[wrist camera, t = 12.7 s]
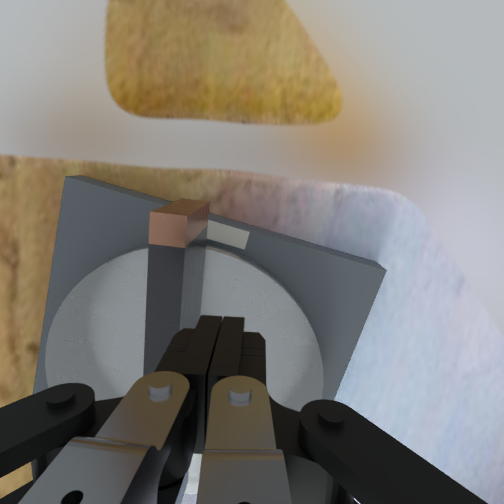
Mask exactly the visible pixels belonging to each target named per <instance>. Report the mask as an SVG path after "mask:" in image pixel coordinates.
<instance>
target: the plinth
mask: <svg viewBox="0 0 504 504" xmlns="http://www.w3.org/2000/svg"><path fill="white" fill-rule="evenodd" d="M170 203H173V202H170V201H167V200H163V199H160V198H156V197H153V196H150V195H146V194H143V193H139V192H136V191H133V190H129V189H126V188H122V187H119V186H116V185H112V184H109V183H105V182H102V181H99V180H95V179H92V178H88V177H85V176H82V175H79V176H65V181H64V188H63V194H62V201H61V208H60V215H59V221H58V228H57V235H56V242H55V248H54V255H53V262H52V268H51V275H50V282H49V289H48V295H47V302H46V309H45V315H44V322H43V329H42V336H41V342H40V349H39V356H38V363H37V369H36V376H35V383H34V389H33V394H35V393H38V392H40V391H43V390H45V389H47V388H48V384H47V378H46V369H45V353H46V345H47V339H48V334H49V331H50V328H51V325H52V322H53V319H54V317H55V315H56V313H57V311H58V309H59V308H60V306H61V304H62V302H63V301H64V300H65V298H66V297H67V296H68V294H69V293H70V292H71V290H72V289H73V288H74V287H75V286H76V285H77V284H78V283H79V282H80V281H81V280H82V279H83V278H84V277H86V276H87V275H88V274H90V273H91V272H93V271H94V270H95V269H97V268H98V267H100V266H101V265H103V264H105V263H106V262H108V261H109V260H111V259H113V258H115V257H117V256H119V255H121V254H123V253H125V252H127V251H130V250H133V249H136V248H139V247H141V246H146V245H149V220H150V211H153V210H155V209H158V208H160V207H163V206H165V205H168V204H170ZM206 244H210V245H215V246H219V247H222V248H225V249H228V250H231V251H234V252H237V253H239V254H241V255H243V256H245V257H247V258H249V259H252V260H253V261H255V262H256V263H258V264H259V265H261V266H263V267H264V268H266V269H267V270H269V271H270V272H271V273H272V274H273V275H275V276H276V277H277V278H278V279H279V280H281V281H282V282H283V283H284V285H285V286H286V287H287V288H288V289H289V290H290V291H291V292H292V293H293V294H294V296H295V297H296V299H297V300H298V301H299V303H300V304H301V306H302V307H303V309H304V310H305V312H306V314H307V316H308V318H309V320H310V322H311V324H312V327H313V330H314V333H315V336H316V339H317V342H318V346H319V349H320V354H321V359H322V364H323V381H324V385H323V393H322V399H327V400H334V398H335V395H336V393H337V391H338V388H339V386H340V383H341V381H342V378H343V376H344V373H345V371H346V368H347V366H348V364H349V361H350V359H351V356H352V354H353V351H354V349H355V346H356V344H357V342H358V339H359V337H360V334H361V332H362V329H363V327H364V324H365V322H366V320H367V317H368V315H369V312H370V310H371V307H372V305H373V302H374V300H375V298H376V295H377V293H378V290H379V288H380V285H381V283H382V280H383V278H384V276H385V273H386V271H387V270H385V269H384V268H383V267H382V266H381V265H380V264H378V263H377V262H374V261H371V260H367V259H364V258H361V257H357V256H354V255H350V254H347V253H344V252H340V251H337V250H333V249H330V248H327V247H323V246H320V245H316V244H313V243H310V242H306V241H303V240H299V239H296V238H292V237H289V236H286V235H282V234H279V233H275V232H272V231H269V230H265V229H262V228H258V227H255V226H252V225H248V224H245V223H241V222H238V221H235V220H231V219H228V218H224V217H221V216H218V215H214V214H211V213H209V217H208V229H207V241H206Z"/></svg>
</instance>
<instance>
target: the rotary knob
mask: <svg viewBox="0 0 504 504" xmlns="http://www.w3.org/2000/svg"><path fill="white" fill-rule="evenodd" d="M209 205H210V202H208V201H200V200H191V199H180V200H178V201H175V202H173V203H170V204H168V205H165V206H163V207H160V208H158V209H155V210H153V211H150V220H149V245H146V246H141V247H139V248H136V249H133V250H130V251H127V252H125V253H123V254H121V255H119V256H117V257H115V258H113V259H111V260H109V261H108V262H106V263H105V264H103V265H101V266H100V267H98V268H97V269H95V270H94V271H93V272H91V273H90V274H88V275H87V276H86V277H84V278H83V279H82V280H81V281H80V282H79V283H78V284H77V285H76V286H75V287H74V288H73V289H72V290H71V292H70V293H69V294H68V296H67V297H66V298H65V300H64V301H63V302H62V304H61V306H60V308H59V309H58V311H57V313H56V315H55V317H54V319H53V322H52V325H51V328H50V331H49V334H48V339H47V345H46V353H45V369H46V378H47V384H48V388H50V387H53V386H56V385H60V384H65V383H82V384H86V385H88V386H90V387H91V388H92V389H93V390H94V392H95V401H99V400H105V399H112V398H118V397H123V396H125V395H126V394H127V392H128V391H129V389H130V388H131V387H132V385H133V384H134V383H135V382H136V381H137V380H138V379H139V378H141V377H143V376H145V375H147V374H150V373H154V371H155V370H156V368H157V366H158V364H159V362H160V360H161V358H162V357H163V355H164V353H165V352H166V349H167V347H168V345H170V342H171V340H172V338H173V336H174V335H175V334H176V333H178V332H179V331H180V330H182V329H183V328H193V329H195V328H196V325H197V323H198V321H199V318H200V316H201V315H214V316H222V317H224V316H231V317H245V327H244V332H259V333H260V334H261V335H262V336H263V338H264V339H265V340H266V386H267V390H268V393H269V395H270V396H271V397H272V399H273V400H275V401H276V402H277V403H279V404H280V405H282V406H284V407H287V408H290V409H293V410H296V411H299V412H300V411H301V409H302V407H303V406H304V405H305V404H307V403H308V402H310V401H313V400H319V399H322V393H323V385H324V381H323V364H322V359H321V354H320V349H319V346H318V342H317V339H316V336H315V333H314V330H313V327H312V324H311V322H310V320H309V318H308V316H307V314H306V312H305V310H304V309H303V307H302V306H301V304H300V303H299V301H298V300H297V299H296V297H295V296H294V294H293V293H292V292H291V291H290V290H289V289H288V288H287V287H286V286H285V285H284V283H283V282H282V281H281V280H279V279H278V278H277V277H276V276H275V275H273V274H272V273H271V272H270V271H269V270H267V269H266V268H264V267H263V266H261V265H259V264H258V263H256V262H255V261H253V260H252V259H249V258H247V257H245V256H243V255H241V254H239V253H237V252H234V251H231V250H228V249H225V248H222V247H219V246H215V245H210V244H206V241H207V229H208V217H209ZM205 446H206V445H205ZM201 459H202V454H193V457H192V461H191V465H190V468H189V476H188V484H187V487H186V490H185V494H197V493H198V484H199V476H200V467H201Z"/></svg>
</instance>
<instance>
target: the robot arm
mask: <svg viewBox="0 0 504 504" xmlns="http://www.w3.org/2000/svg"><path fill="white" fill-rule="evenodd" d="M244 327H245V317H231V316H224V317H222V316H214V315H201V316H200V318H199V321H198V323H197V325H196V328H195V329H193V328H183V329H182V330H180V331H179V332H178V333H176V334H175V335H174V336H173V338H172V340H171V342H170V345H168V347H167V349H166V352H165V353H164V355H163V357H162V358H161V360H160V362H159V364H158V366H157V368H156V370H155V371H154V373H150V374H147V375H145V376H143V377H141V378H139V379H138V380H137V381H136V382H135V383H134V384H133V385H132V387H131V388H130V389H129V391H128V392H127V394H126V395H125V396H123V397H118V398H112V399H105V400H99V401H95V392H94V390H93V389H92V388H91V387H90V386H88V385H86V384H82V383H65V384H60V385H56V386H53V387H50V388H47V389H45V390H43V391H40V392H38V393H35V394H33V395H30V396H28V397H26V398H23V399H21V400H18V401H16V402H13V403H11V404H9V405H6V406H4V407H1V408H0V478H1V477H3V476H5V475H7V474H9V473H11V472H12V471H14V470H16V469H18V468H20V467H22V466H24V465H25V464H27V463H29V462H31V467H32V475H33V480H32V481H30V482H29V483H27V484H25V485H24V486H22V487H20V488H18V489H17V490H15V491H13V492H11V493H10V494H8V495H6V496H5V497H3V498H1V499H0V504H181V502H182V499H183V496H184V493H185V490H186V487H187V484H188V476H189V468H190V465H191V461H192V457H193V454H202V459H201V467H200V476H199V484H198V493H197V501H196V504H358V503H357V502H356V501H355V500H354V498H355V499H356V500H357V501H358V502H360V503H361V504H488V503H486V502H485V501H483V500H482V499H480V498H479V497H478V496H476V495H475V494H473V493H472V492H470V491H469V490H468V489H466V488H465V487H463V486H462V485H460V484H459V483H458V482H456V481H455V480H453V479H452V478H450V477H449V476H448V475H446V474H445V473H443V472H442V471H440V470H439V469H438V468H436V467H435V466H433V465H432V464H430V463H429V462H427V461H426V460H425V459H423V458H422V457H420V456H419V455H417V454H416V453H415V452H413V451H412V450H410V449H409V448H407V447H406V446H405V445H403V444H402V443H400V442H399V441H397V440H396V439H395V438H393V437H392V436H390V435H389V434H387V433H386V432H385V431H383V430H382V429H380V428H379V427H377V426H376V425H374V424H373V423H372V422H370V421H369V420H367V419H366V418H364V417H363V416H362V415H360V414H359V413H357V412H356V411H354V410H353V409H352V408H350V407H348V406H347V405H345V404H343V403H340V402H337V401H333V400H327V399H319V400H313V401H310V402H308V403H307V404H305V405H304V406H303V407H302V409H301V411H300V412H299V411H296V410H293V409H290V408H287V407H284V406H282V405H280V404H279V403H277V402H276V401H275V400H273V399H272V397H271V396H270V395H269V393H268V390H267V386H266V340H265V339H264V338H263V336H262V335H261V334H260V333H259V332H244ZM205 445H206V446H205Z"/></svg>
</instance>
